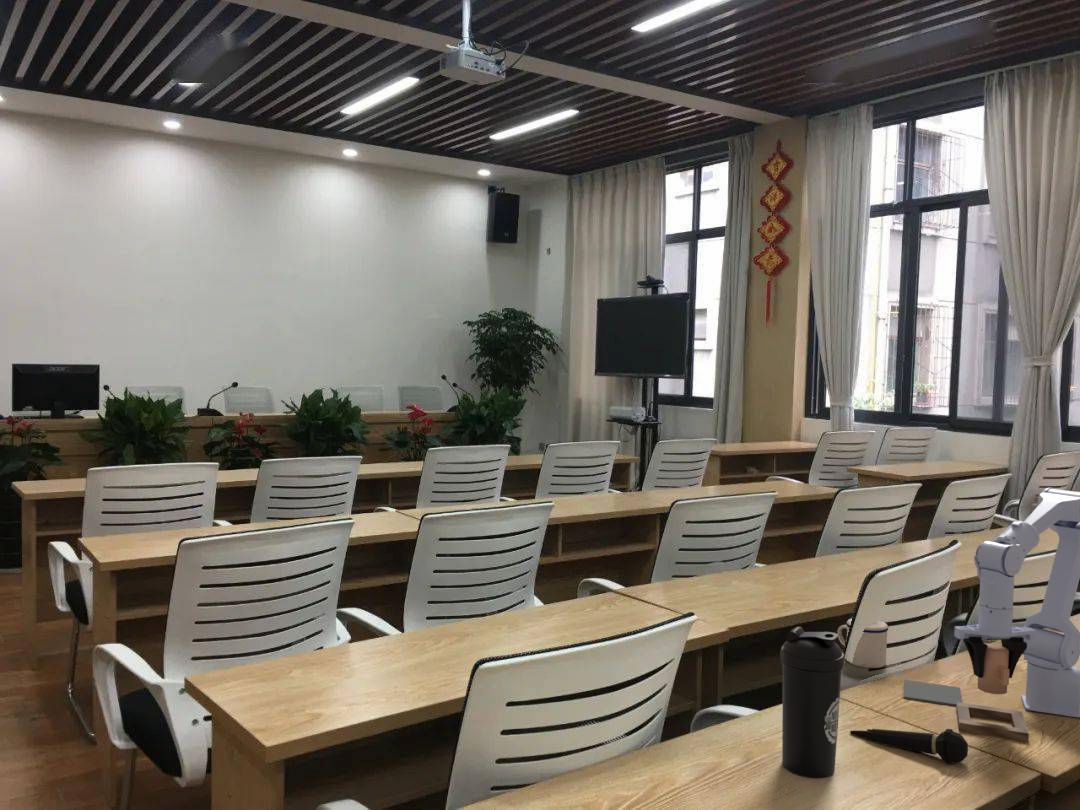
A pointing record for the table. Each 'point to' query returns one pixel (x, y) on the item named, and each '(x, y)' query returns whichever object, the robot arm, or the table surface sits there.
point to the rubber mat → (932, 692)
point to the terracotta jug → (995, 670)
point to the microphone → (922, 742)
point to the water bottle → (810, 702)
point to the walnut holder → (1014, 732)
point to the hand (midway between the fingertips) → (992, 676)
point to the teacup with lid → (869, 645)
